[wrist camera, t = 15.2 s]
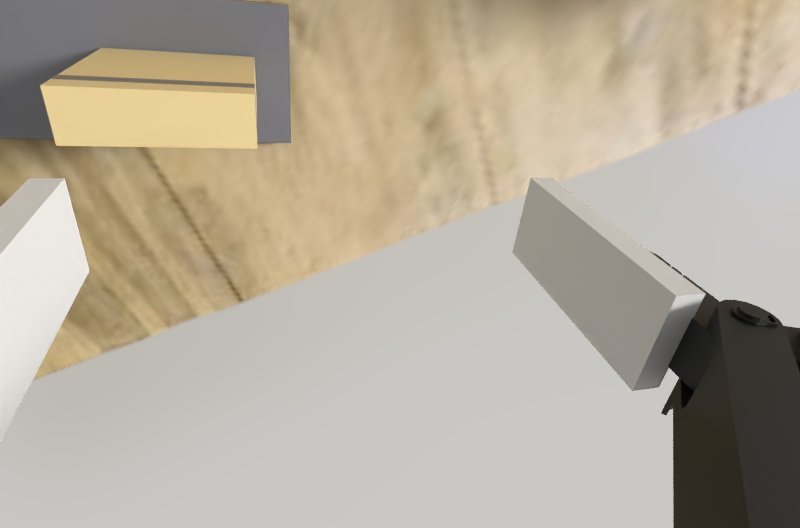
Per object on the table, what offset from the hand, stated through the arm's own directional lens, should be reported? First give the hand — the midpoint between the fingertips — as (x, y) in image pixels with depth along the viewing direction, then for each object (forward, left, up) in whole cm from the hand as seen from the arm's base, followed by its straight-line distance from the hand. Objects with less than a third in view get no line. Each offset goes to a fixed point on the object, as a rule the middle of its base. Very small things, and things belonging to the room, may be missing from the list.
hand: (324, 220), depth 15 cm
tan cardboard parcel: (-4, -6, -27) cm, 28 cm away
